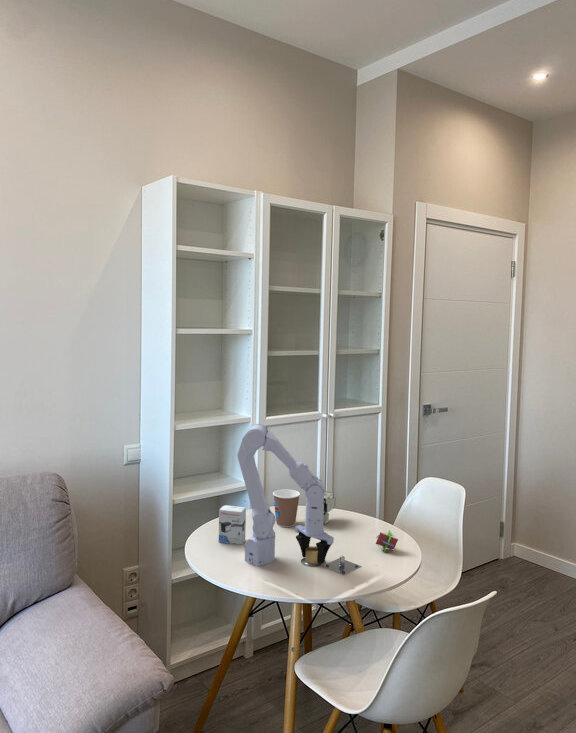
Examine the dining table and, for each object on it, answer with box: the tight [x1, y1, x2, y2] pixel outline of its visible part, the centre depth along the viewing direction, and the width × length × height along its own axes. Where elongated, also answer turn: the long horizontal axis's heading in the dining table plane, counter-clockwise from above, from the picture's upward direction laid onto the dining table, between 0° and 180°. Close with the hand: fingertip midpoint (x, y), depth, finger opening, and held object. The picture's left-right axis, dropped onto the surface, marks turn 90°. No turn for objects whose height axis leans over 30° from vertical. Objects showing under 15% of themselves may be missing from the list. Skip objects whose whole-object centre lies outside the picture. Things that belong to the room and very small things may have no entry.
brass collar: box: [304, 545, 319, 565], centre depth 192 cm, size 5×5×4 cm
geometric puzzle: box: [374, 530, 399, 553], centre depth 205 cm, size 7×7×8 cm
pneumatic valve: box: [323, 490, 336, 525], centre depth 230 cm, size 6×12×12 cm, turn 154°
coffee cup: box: [272, 488, 301, 528], centre depth 228 cm, size 10×10×12 cm
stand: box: [300, 557, 327, 568], centre depth 192 cm, size 8×8×4 cm
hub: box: [322, 555, 362, 576], centre depth 189 cm, size 9×9×4 cm
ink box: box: [218, 505, 247, 545], centre depth 210 cm, size 8×5×12 cm, turn 76°
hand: (313, 559), depth 192 cm, fingers open, 6 cm apart
